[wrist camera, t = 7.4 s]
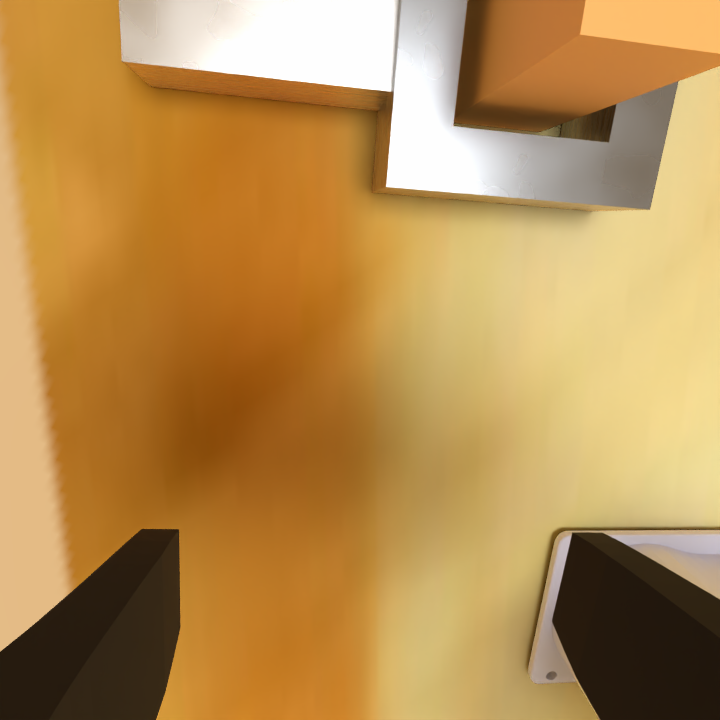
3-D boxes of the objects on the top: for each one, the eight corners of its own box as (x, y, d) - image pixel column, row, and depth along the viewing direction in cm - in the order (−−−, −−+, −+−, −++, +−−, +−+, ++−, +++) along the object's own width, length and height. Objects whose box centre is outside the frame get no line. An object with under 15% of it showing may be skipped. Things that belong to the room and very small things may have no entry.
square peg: (557, 23, 16) (799, -162, 8) (539, 132, 17) (743, 57, 9) (461, 10, 15) (619, -199, 8) (448, 122, 16) (579, 34, 8)
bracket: (644, -55, 15) (722, -119, 12) (592, 211, 17) (649, 209, 15) (142, -136, 13) (99, -233, 11) (154, 174, 16) (120, 163, 13)
